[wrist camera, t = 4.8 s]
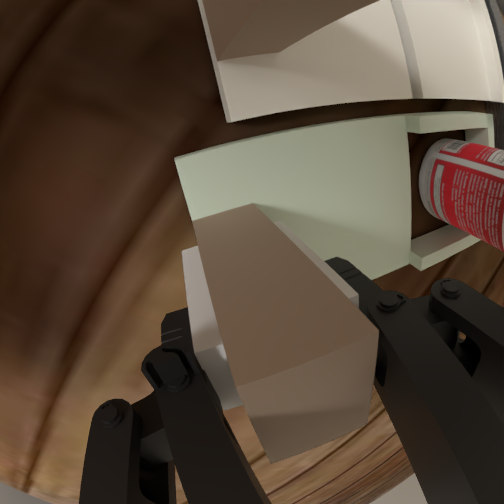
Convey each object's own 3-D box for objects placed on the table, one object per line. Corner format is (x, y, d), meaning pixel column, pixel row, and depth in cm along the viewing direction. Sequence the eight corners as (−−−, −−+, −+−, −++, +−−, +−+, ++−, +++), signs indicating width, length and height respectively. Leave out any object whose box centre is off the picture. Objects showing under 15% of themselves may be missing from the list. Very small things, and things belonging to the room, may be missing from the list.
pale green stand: (225, 320, 18) (284, 489, 8) (174, 157, 14) (179, 239, 4) (469, 225, 21) (567, 281, 11) (469, 111, 17) (590, 138, 7)
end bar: (484, 225, 22) (507, 236, 20) (458, -13, 12) (483, -17, 9) (491, 221, 22) (513, 232, 20) (467, -8, 12) (491, -12, 10)
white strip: (410, 98, 15) (437, 98, 13) (376, -34, 11) (397, -45, 9) (484, 100, 17) (506, 102, 14) (461, -5, 12) (481, -9, 10)
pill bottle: (439, 230, 21) (547, 295, 11) (402, 185, 18) (543, 248, 8) (471, 171, 19) (580, 214, 9) (440, 119, 17) (575, 149, 7)
